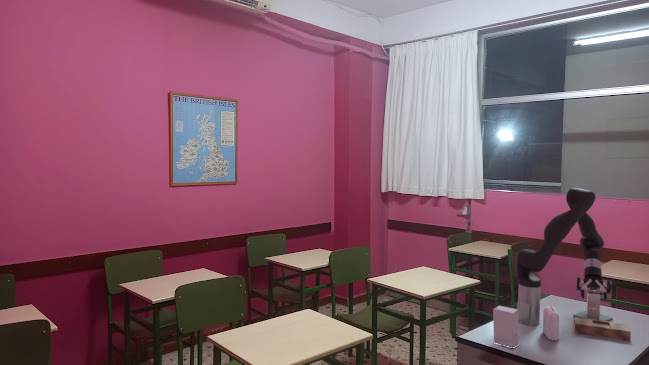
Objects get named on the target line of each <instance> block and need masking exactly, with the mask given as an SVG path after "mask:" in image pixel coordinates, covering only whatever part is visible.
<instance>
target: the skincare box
mask: <svg viewBox="0 0 649 365" xmlns="http://www.w3.org/2000/svg"><path fill="white" fill-rule="evenodd" d="M492 312H493V316H492V317H493V319H492V321H493V325H492V326H493V343H494V342H495V343H498V344H501V345H505V346H509V347H512V348H513V347H515V346H517V345H518V344H519V345H520V335H519V334H520V332H519V330H520V329H519V328H520V327H519V322H518V309H517V308H512V307H509V306H502V305H498V306H496V307H494V308H493V309H492ZM519 345H518V346H519ZM518 346H517V347H518Z"/></svg>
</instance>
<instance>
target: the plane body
mask: <svg viewBox="0 0 649 365" xmlns="http://www.w3.org/2000/svg"><path fill="white" fill-rule="evenodd" d="M573 318H574V322H573V328H574V333H576V334H581V335H582V334H584V335H589V336H596V337H600V338H601V337H602V338H608V339H614V340H623V341H627V342H631V332H632V331H631V328H629V325H628V324H626V323H620V322H612V321H608V322H606V321H599V320H592V319H585V318H578V317H573Z"/></svg>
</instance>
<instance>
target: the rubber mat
mask: <svg viewBox="0 0 649 365" xmlns="http://www.w3.org/2000/svg"><path fill="white" fill-rule="evenodd" d="M572 317H573V318H574V317H578V318H585V319H592V320H599V321H606V322H612V321H613V320H614V319H613V318H614V317H612V316H608V315H605V314H601V313H600V319H596V318H589V317H587V314H586V310H583V311H580V312H578V313H575V314H573V316H572Z"/></svg>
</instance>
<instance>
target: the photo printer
mask: <svg viewBox="0 0 649 365" xmlns="http://www.w3.org/2000/svg"><path fill="white" fill-rule="evenodd" d="M542 311H543V312H542V313H543V314H542V315H543V316H542V318H543V319H542V333H543V334H544V335H545V337H547V339H548V340H550V341H553V340H555V341H558V340H559V335H560V332H559V331H560V315H559V313H558V311H557V309H555V307H553V306H552V305H551V306H550V305H549V306H548V305H546V306H544V308H543V310H542Z"/></svg>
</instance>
